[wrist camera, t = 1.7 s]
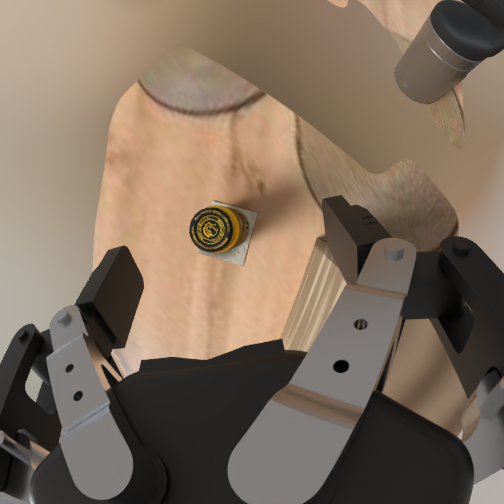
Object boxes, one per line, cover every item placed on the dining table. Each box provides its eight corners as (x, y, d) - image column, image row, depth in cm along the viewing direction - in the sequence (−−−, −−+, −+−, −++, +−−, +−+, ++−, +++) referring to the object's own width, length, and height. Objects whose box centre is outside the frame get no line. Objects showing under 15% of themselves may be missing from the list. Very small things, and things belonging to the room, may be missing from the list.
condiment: (257, 212, 45) (246, 209, 33) (243, 266, 46) (226, 281, 34) (212, 200, 45) (186, 193, 34) (199, 252, 47) (169, 262, 35)
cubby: (403, 269, 43) (518, 323, 15) (350, 388, 46) (387, 514, 18) (316, 237, 44) (361, 263, 16) (269, 365, 47) (244, 498, 19)
